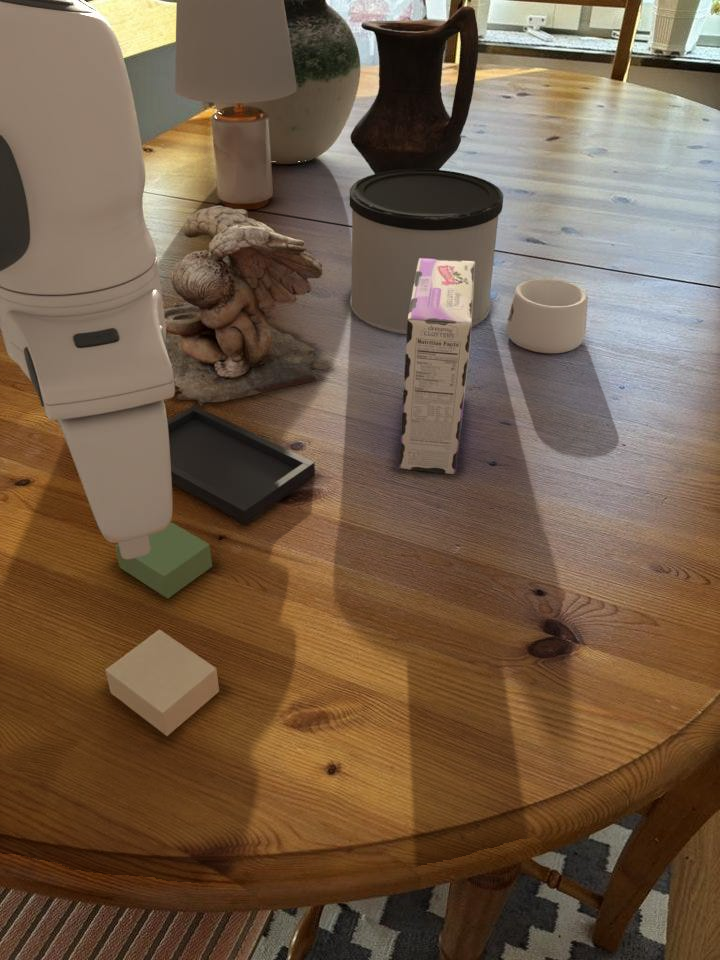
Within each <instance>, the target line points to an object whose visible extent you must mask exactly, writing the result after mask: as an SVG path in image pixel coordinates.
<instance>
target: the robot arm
mask: <svg viewBox="0 0 720 960" xmlns="http://www.w3.org/2000/svg"><path fill="white" fill-rule="evenodd" d="M126 66H127V65H126V62H125V59H124V55H123V52H122V48H121V46H120V43H119V41H118V38H117V35H116V33H115V31H114V29H113V27H112V26H111V24H110V22H109V21H108V20H107V19H106V18H105V17H104V16H103V15H102V13H101V12H100V11H99V10H98V9H96V8H95V7H94V6H92V5H91V4H89V2H87V1H85V0H0V332H1V335H2V336H1V337H2V338H3V343H4V346H5V350H6V353H7V355H8V357H9V358H10V359H11V360H12V361H13V362H14V363H15V364H17V365H19V368H20V369H21V371H22V372H23V373H24V375H25V376H26V377H27V378H28V379H29V380H30V382H31V384H32V386H33V388H34V390H35V392H36V395H37V396H38V399H39V402H40V405H41V407H43V408H44V411H45V415H46V417H47V419H49V420H50V421H53V422H54V421H57V422H58V425H59V428H60V430H61V432H62V435H63V437H64V439H65V442H66V445H67V448H68V450H69V453H70V455H71V458H72V461H73V463H74V466H75V468H76V471H77V474H78V477H79V480H80V482H81V485H82V488H83V491H84V493H85V497H86V499H87V501H88V504H89V507H90V510H91V512H92V515H93V517H94V521H95V523H96V525H97V527H98V529H99V531H100V534H101V535H102V536H103V538H104V539H105V540H106V541H107V542H109V543H113V544H115V543H116V544H118V547H119V551H120V554H121V557H122V558H123V559H128V560H129V559H133V558H137V557H141V556H145V555H147V554H148V553H149V552H150V549H151V547H150V541H149V535H152V534H156V533H159V532H162V531H164V530H166V529H167V527H168V526H169V524H170V521H171V522H172V516H173V511H174V510H173V508H174V507H173V504H174V503H173V484H172V478H171V461H170V445H169V432H168V423H167V420H168V417H167V410H166V404H165V400H169V399H171V398H173V397H174V396H175V394H176V392H175V391H176V386H175V383H174V376H173V370H172V366H171V360H170V356H169V352H168V349H167V346H166V334H167V331H166V324H165V316H164V309H165V308H164V302H163V294H162V288H161V287H162V286H161V279H160V272H159V271H160V270H159V265H158V257H157V250H156V246H155V242H154V240H153V237H152V235H151V233H150V231H149V229H148V226H147V224H146V221H145V216H144V209H143V208H144V207H143V204H144V203H143V202H144V201H143V198H144V191H145V186H146V175H147V174H146V167H145V158H144V152H143V147H142V145H143V144H142V140H141V134H140V127H139V122H138V116H137V110H136V106H135V105H136V104H135V100H134V95H133V92H132V85H131V82H130V78H129V73H128V69H127V67H126Z"/></svg>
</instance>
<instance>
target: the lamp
mask: <svg viewBox="0 0 720 960" xmlns="http://www.w3.org/2000/svg"><path fill="white" fill-rule="evenodd" d="M175 10H176V12H175V13H176V16H175V20H176V21H175V68H174V69H175V70H174V71H175V73H174V74H175V77H174V78H175V79H174V80H175V81H174V91H175V93H176V94H177V96H180V97H182V98H184V99H188V100H191V101H196V102H203V103H212V104H214V103H235V106H231V107H225V108H221V109H219V110H218V111H217V110H216V112H215V113H213V114H212V115H211V116H210V122H211V123H210V124H211V133H212V144H213V145H212V146H213V155H214V157H213V158H214V169H215V179H216V180H215V181H216V190H217V196H218V199H219V200H220V201H222V204H223V206H224V207H228V208H232V209H243V210H246V211H250V210H257V209H261V208H264V207H265V206H267V205H268V204H269V199H270V198H272V197H273V194H274V189H273V188H274V187H273V171H272V170H273V168H272V163H271V145H270V124H269V115H268V114H267V113H266V112H264V111H263V110H262V109H260V108H257V107H252V106H244V103H255V102H264V101H271V100H276V99H280V98H284V97H287V96H289V95H291V94H293V93H294V92H295V91H296V90H297V85H296V79H295V72H294V65H293V58H292V51H291V45H290V38H289V31H288V25H287V19H286V13H285V6H284V0H176V9H175Z"/></svg>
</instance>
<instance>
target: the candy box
mask: <svg viewBox="0 0 720 960" xmlns="http://www.w3.org/2000/svg"><path fill="white" fill-rule="evenodd" d="M474 273H475V261H459V260H438V259H424V258H419V261H418V265H417V270H416V275H415V281H414V286H413V292H412V297H411V303H410V308H409V314H408V321H407V334H406V340H405V356H404V357H405V358H404V374H403V377H404V378H403V390H402V392H403V393H402V406H401V408H402V411H401V413H402V414H401V425H400V427H401V429H400V446H399V447H400V448H399V464H398V468H399V469H402V470H409V471H418V472H419V471H420V472H429V473H435V474H445V475H454V474H456V472H457V465H458V455H459V446H460V439H461V438H460V437H461V430H462V423H463V416H464V414H463V413H464V405H465V396H466V388H467V387H466V386H467V380H468V379H467V377H468V368H469V361H470V350H471V349H470V348H471V337H472V328H473V327H472V313H473V297H474Z"/></svg>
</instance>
